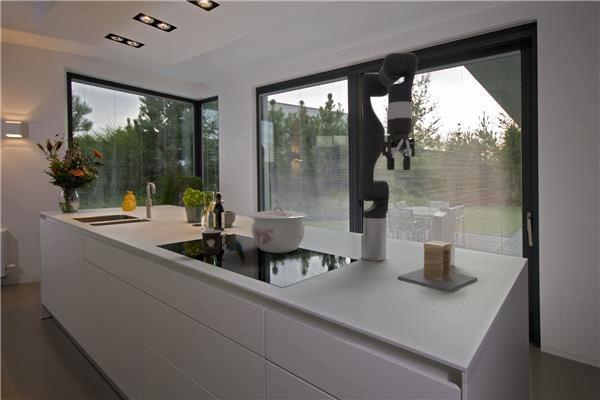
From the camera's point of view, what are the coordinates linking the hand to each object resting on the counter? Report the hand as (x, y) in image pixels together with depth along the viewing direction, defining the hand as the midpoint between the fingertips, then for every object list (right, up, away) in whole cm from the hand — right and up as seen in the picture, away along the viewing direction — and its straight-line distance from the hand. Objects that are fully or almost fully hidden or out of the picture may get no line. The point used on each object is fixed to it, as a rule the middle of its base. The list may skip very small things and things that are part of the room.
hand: (398, 170), depth 110 cm
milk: (+24, -35, +25) cm, 49 cm away
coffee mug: (-70, -34, +46) cm, 90 cm away
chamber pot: (-41, -33, +52) cm, 74 cm away
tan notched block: (+14, -35, +5) cm, 38 cm away
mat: (+14, -36, +5) cm, 39 cm away
